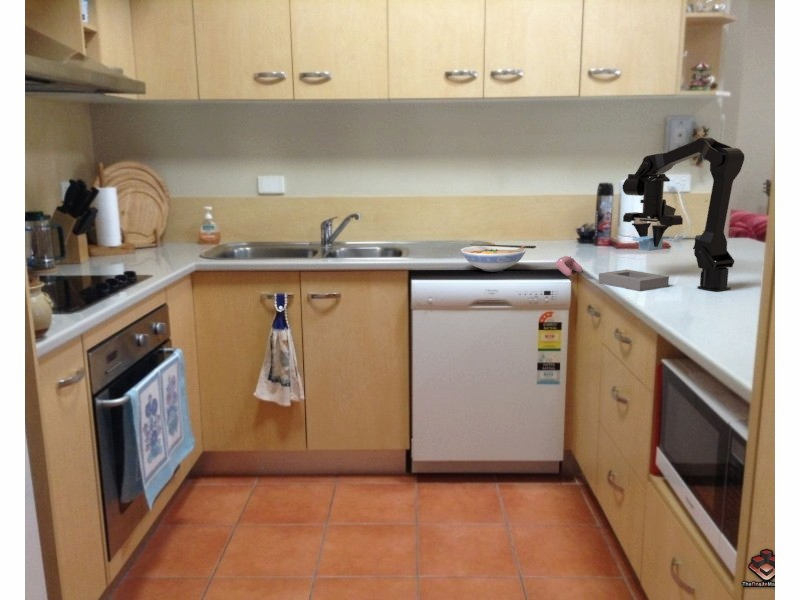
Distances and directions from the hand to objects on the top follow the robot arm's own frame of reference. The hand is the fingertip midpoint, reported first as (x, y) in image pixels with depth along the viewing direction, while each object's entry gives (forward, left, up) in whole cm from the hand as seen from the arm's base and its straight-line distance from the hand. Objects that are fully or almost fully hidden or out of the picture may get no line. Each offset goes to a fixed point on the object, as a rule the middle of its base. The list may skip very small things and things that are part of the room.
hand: (650, 246), depth 210 cm
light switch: (-6, +14, -10) cm, 18 cm away
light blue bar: (0, 0, -1) cm, 1 cm away
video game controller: (+20, +15, -10) cm, 27 cm away
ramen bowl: (+41, +31, -10) cm, 52 cm away
